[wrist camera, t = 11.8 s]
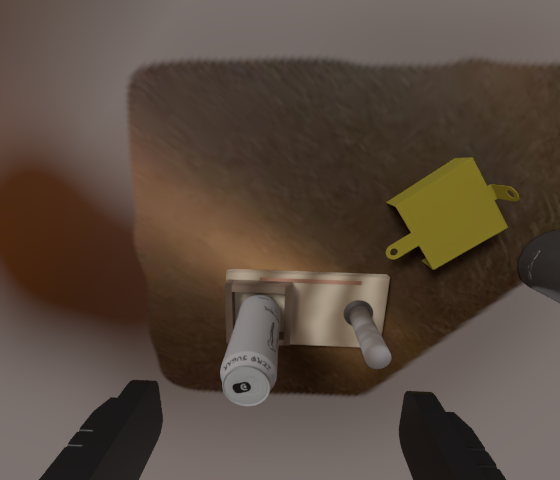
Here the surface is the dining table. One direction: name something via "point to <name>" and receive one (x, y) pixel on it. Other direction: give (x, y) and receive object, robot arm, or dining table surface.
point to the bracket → (449, 212)
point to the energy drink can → (252, 352)
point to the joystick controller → (318, 307)
